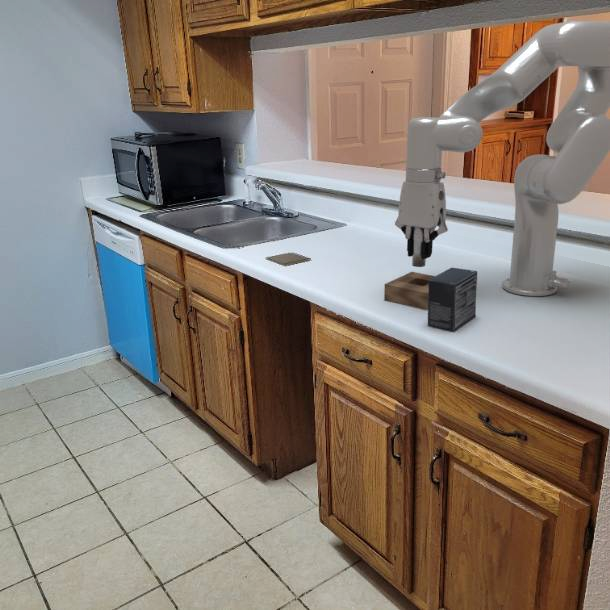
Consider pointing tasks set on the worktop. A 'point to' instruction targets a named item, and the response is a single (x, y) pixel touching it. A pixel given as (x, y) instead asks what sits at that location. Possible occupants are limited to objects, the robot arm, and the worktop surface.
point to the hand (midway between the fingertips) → (419, 255)
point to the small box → (452, 299)
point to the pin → (418, 247)
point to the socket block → (409, 290)
